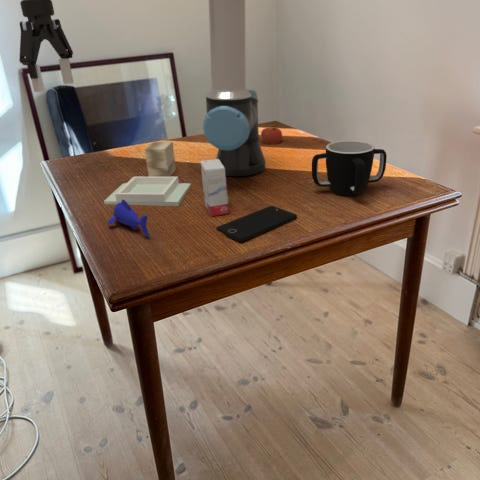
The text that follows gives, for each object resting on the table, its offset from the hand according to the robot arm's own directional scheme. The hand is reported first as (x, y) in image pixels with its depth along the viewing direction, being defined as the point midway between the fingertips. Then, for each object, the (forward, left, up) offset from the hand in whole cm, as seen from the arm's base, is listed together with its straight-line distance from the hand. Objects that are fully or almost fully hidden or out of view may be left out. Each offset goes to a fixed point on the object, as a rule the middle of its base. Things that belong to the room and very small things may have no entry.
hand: (54, 87), depth 128 cm
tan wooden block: (-24, -8, -28) cm, 38 cm away
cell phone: (-57, +24, -29) cm, 68 cm away
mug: (-78, +2, -28) cm, 83 cm away
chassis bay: (-25, +8, -28) cm, 39 cm away
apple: (-54, -41, -28) cm, 74 cm away
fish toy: (-28, +29, -29) cm, 49 cm away
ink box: (-45, +16, -28) cm, 56 cm away
